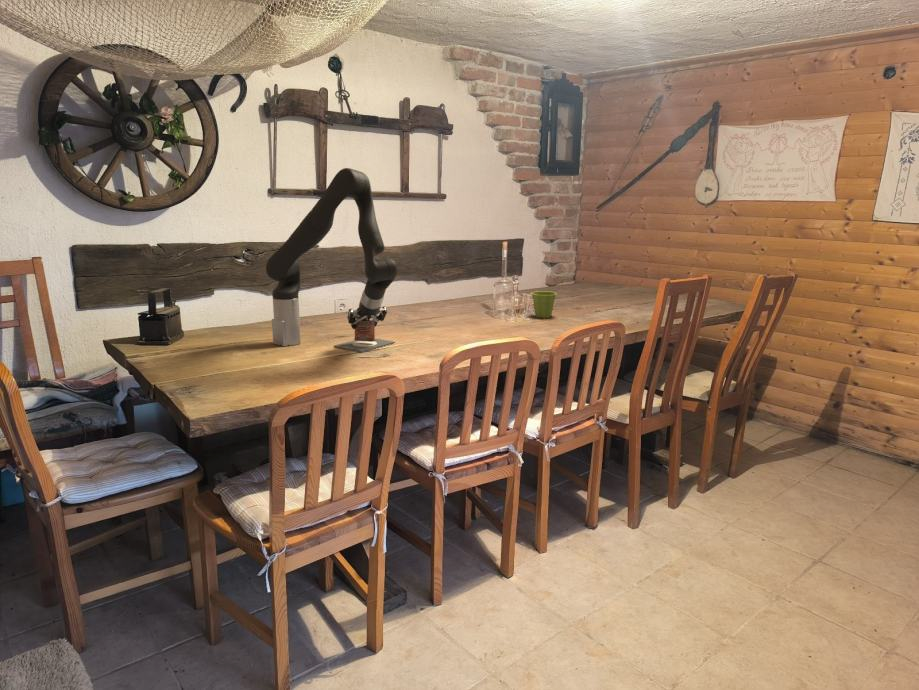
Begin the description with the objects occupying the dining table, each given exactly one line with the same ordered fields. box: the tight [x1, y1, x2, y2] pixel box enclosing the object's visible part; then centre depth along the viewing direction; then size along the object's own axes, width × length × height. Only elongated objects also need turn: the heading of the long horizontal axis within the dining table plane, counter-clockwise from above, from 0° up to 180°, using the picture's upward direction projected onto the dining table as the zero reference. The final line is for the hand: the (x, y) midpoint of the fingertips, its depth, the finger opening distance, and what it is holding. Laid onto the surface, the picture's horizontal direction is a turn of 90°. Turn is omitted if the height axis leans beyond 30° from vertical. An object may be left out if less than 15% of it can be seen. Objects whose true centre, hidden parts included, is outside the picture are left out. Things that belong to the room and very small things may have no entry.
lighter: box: [353, 318, 376, 342], centre depth 231 cm, size 8×3×10 cm, turn 75°
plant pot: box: [530, 290, 558, 319], centre depth 288 cm, size 12×12×11 cm
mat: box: [333, 337, 396, 354], centre depth 233 cm, size 18×14×1 cm
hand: (363, 326), depth 233 cm, fingers closed on lighter, 7 cm apart
